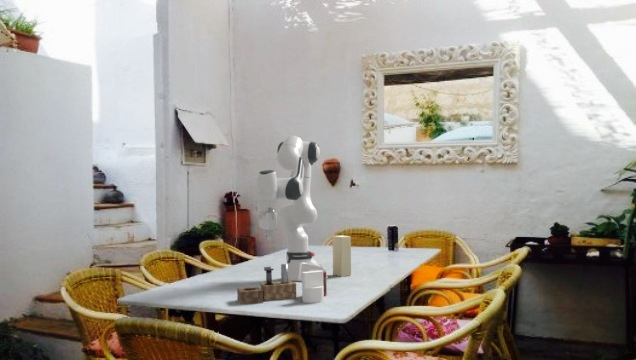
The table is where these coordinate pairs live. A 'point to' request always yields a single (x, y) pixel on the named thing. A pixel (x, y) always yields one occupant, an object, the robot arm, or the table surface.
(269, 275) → the grey headed bolt
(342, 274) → the tall beige block
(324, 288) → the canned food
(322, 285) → the cylinder with rectangular tab
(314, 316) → the table surface
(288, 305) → the table surface
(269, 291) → the socket block
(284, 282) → the grey peg
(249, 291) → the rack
